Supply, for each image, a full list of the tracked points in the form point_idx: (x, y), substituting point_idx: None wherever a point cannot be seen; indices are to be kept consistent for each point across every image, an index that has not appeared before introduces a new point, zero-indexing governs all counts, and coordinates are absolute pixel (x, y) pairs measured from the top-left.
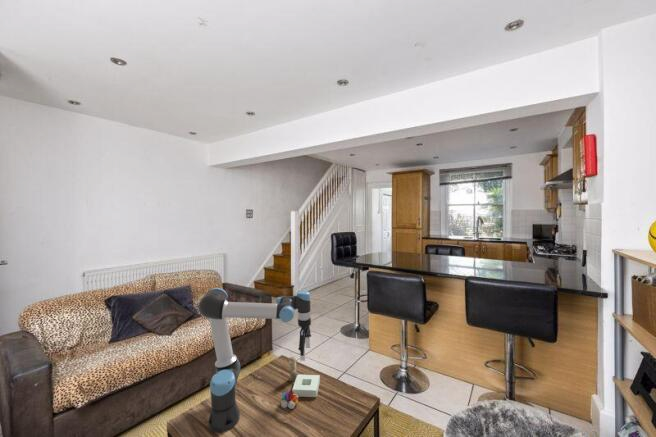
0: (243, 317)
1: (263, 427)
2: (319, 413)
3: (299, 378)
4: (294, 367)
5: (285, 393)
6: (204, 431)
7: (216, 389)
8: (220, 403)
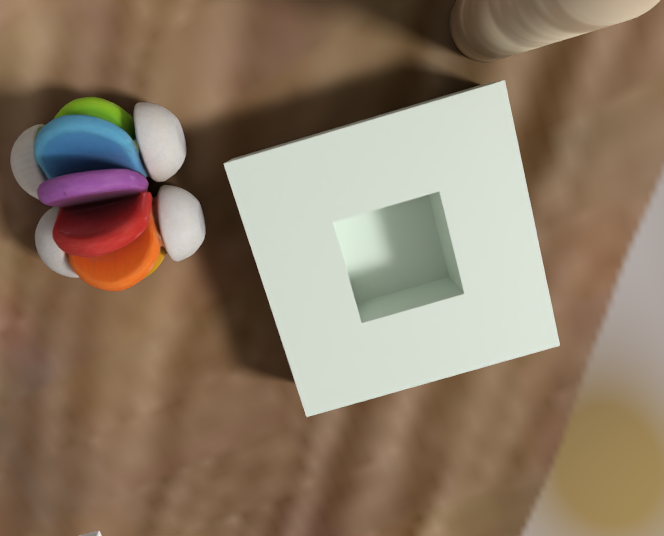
0: None
1: None
2: (136, 483)
3: (436, 146)
4: (522, 34)
5: (94, 140)
6: None
7: None
8: None
